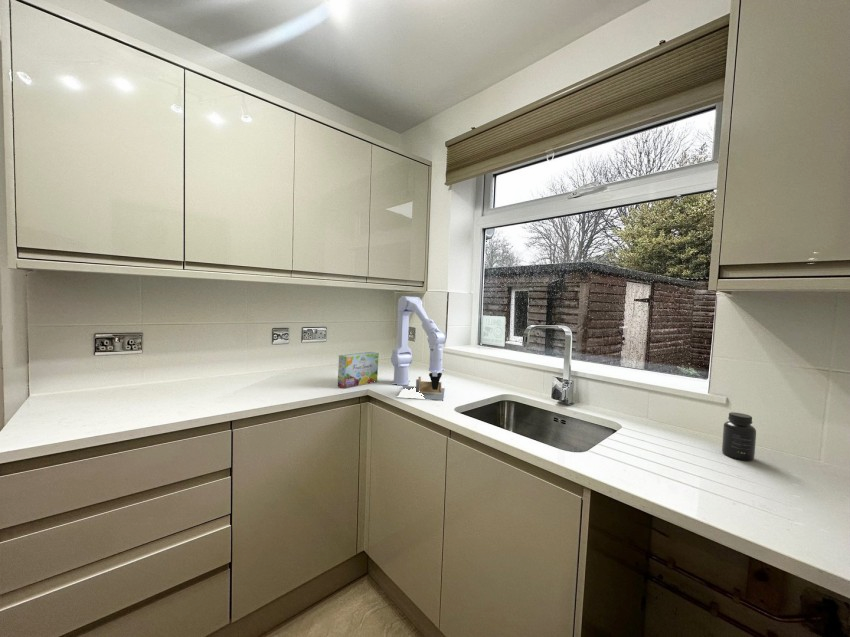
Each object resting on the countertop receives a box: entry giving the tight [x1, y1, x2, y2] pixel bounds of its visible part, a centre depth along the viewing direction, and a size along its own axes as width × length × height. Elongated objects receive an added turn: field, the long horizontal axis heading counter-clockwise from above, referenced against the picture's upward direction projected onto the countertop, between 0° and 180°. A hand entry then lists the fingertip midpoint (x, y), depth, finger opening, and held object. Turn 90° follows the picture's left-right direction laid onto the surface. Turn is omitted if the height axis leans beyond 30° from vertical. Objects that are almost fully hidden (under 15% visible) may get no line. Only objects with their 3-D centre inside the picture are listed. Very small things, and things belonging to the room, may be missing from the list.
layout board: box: [402, 376, 445, 402], centre depth 152 cm, size 20×20×6 cm
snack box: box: [337, 351, 380, 389], centre depth 164 cm, size 21×6×15 cm, turn 143°
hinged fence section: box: [420, 380, 442, 393], centre depth 152 cm, size 10×1×4 cm, turn 86°
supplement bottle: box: [721, 411, 757, 462], centre depth 96 cm, size 7×7×12 cm
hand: (435, 389), depth 150 cm, fingers closed
